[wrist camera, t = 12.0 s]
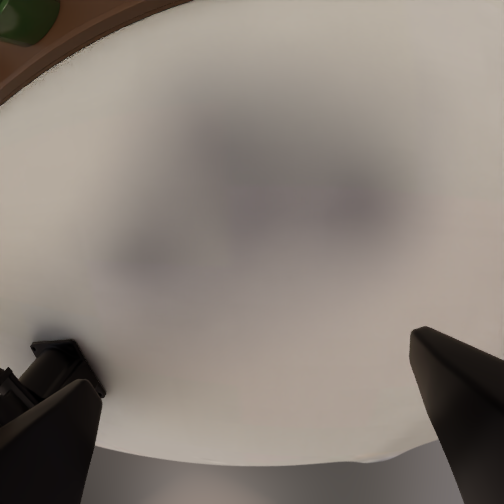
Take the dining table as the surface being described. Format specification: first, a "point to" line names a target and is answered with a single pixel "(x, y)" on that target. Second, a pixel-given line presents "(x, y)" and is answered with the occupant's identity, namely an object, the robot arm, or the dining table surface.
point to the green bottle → (26, 20)
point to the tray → (70, 37)
